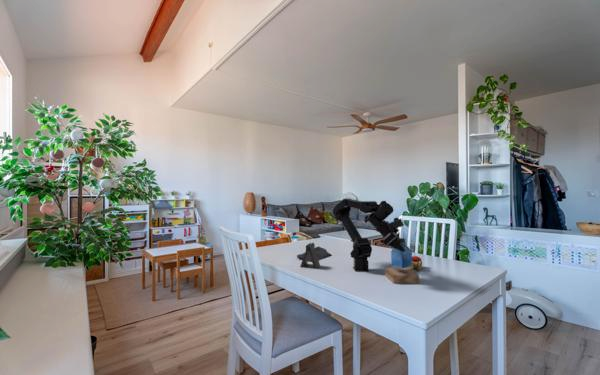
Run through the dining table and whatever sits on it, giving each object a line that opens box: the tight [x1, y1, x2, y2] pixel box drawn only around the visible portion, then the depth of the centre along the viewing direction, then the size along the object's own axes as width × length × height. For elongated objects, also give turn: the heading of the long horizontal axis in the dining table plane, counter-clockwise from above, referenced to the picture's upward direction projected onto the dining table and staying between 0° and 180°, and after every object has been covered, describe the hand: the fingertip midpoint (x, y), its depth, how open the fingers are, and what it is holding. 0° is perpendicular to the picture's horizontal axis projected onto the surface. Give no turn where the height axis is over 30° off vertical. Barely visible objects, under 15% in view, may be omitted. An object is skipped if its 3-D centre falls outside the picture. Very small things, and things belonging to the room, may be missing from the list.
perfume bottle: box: [390, 237, 413, 268], centre depth 128 cm, size 6×6×12 cm
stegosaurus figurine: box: [296, 246, 333, 263], centre depth 168 cm, size 15×22×5 cm
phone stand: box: [300, 242, 321, 270], centre depth 148 cm, size 9×6×12 cm, turn 69°
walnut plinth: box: [384, 267, 420, 284], centre depth 127 cm, size 11×11×4 cm
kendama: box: [407, 255, 423, 272], centre depth 141 cm, size 8×6×18 cm
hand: (404, 250), depth 127 cm, fingers closed on perfume bottle, 5 cm apart
